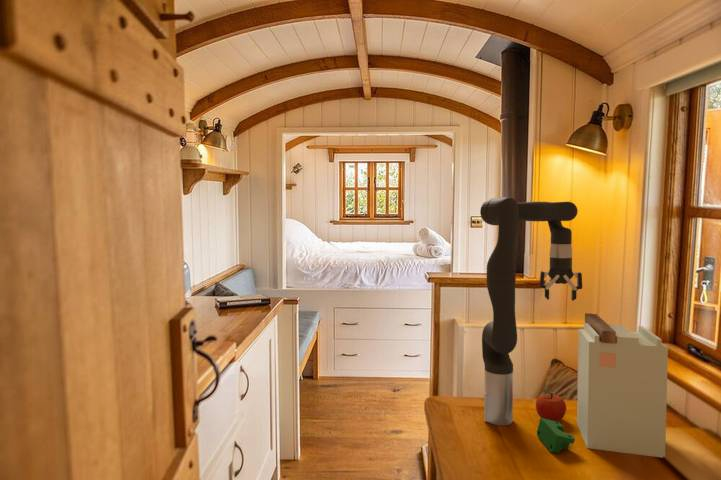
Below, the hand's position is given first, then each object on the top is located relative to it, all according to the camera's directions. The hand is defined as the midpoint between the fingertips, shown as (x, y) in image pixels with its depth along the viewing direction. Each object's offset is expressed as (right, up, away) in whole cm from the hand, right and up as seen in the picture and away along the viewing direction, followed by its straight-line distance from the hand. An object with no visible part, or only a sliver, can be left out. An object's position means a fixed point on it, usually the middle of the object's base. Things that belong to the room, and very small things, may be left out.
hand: (560, 299), depth 161 cm
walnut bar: (+1, -7, -24) cm, 25 cm away
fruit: (-9, -39, -13) cm, 42 cm away
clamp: (-15, -40, -29) cm, 52 cm away
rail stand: (+5, -39, -27) cm, 48 cm away
